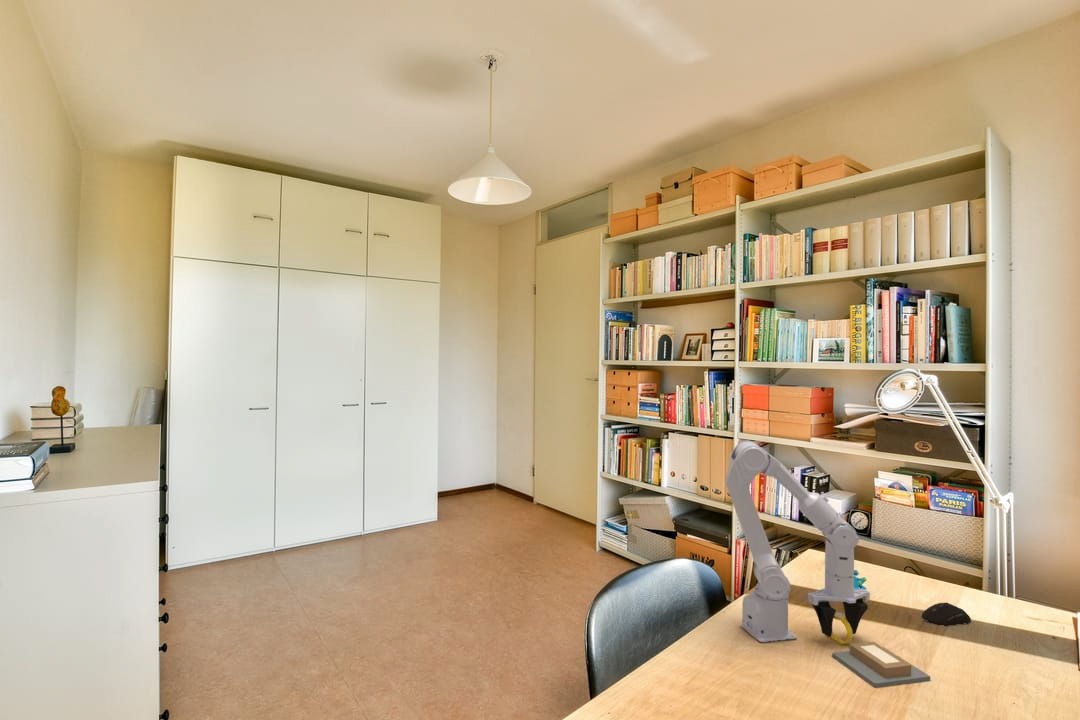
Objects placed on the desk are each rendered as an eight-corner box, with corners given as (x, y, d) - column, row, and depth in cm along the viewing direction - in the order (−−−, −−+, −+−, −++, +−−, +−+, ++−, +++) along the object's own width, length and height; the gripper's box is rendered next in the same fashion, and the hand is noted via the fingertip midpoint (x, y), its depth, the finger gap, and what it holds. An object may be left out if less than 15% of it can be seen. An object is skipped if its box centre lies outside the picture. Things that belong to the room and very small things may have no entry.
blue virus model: (841, 595, 139) (826, 558, 146) (828, 604, 143) (813, 568, 150) (877, 598, 141) (860, 562, 148) (863, 607, 145) (847, 571, 152)
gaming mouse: (905, 618, 131) (905, 602, 131) (951, 612, 134) (951, 596, 134) (930, 630, 125) (930, 614, 125) (977, 623, 128) (977, 607, 128)
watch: (823, 637, 121) (821, 610, 121) (832, 635, 122) (830, 608, 122) (846, 648, 115) (845, 620, 116) (855, 646, 116) (854, 618, 117)
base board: (874, 687, 101) (874, 672, 101) (832, 656, 112) (832, 642, 112) (930, 680, 104) (930, 665, 104) (883, 650, 115) (883, 637, 115)
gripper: (824, 582, 113) (823, 645, 113) (881, 577, 116) (880, 639, 116) (801, 569, 120) (801, 629, 120) (855, 565, 123) (855, 624, 123)
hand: (838, 633), depth 119 cm, fingers open, 6 cm apart
